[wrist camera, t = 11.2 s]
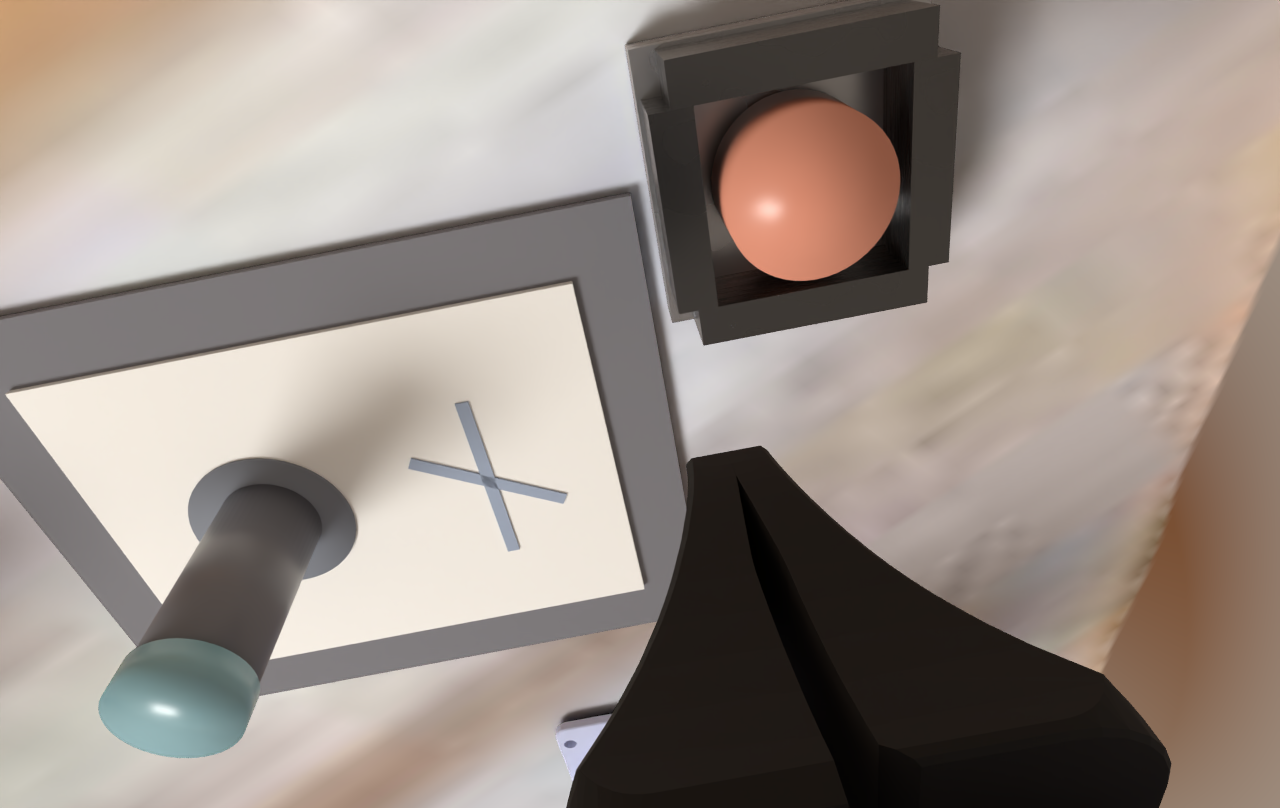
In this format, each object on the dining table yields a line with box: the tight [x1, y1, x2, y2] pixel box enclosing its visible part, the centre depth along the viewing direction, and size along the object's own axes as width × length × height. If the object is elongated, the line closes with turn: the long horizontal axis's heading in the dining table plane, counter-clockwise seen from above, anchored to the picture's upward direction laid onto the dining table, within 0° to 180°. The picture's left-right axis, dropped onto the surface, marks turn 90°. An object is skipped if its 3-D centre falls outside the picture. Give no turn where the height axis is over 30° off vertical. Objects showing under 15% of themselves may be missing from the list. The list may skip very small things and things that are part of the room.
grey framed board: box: [0, 193, 686, 696], centre depth 24 cm, size 16×20×1 cm
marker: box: [98, 484, 322, 758], centre depth 21 cm, size 3×3×7 cm
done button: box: [711, 89, 900, 281], centre depth 18 cm, size 4×4×2 cm
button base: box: [625, 0, 961, 345], centre depth 18 cm, size 7×7×3 cm
